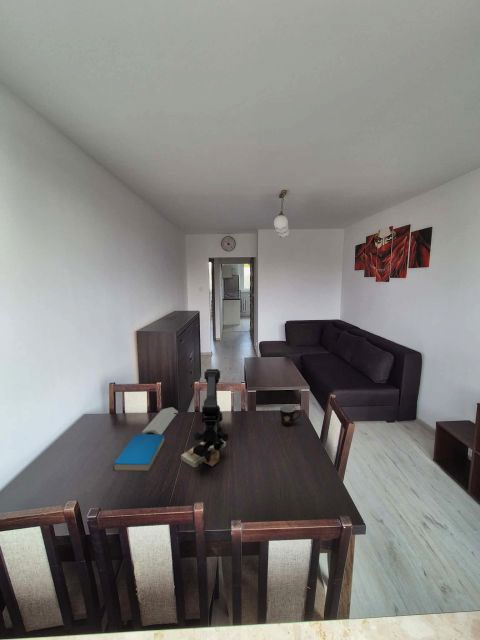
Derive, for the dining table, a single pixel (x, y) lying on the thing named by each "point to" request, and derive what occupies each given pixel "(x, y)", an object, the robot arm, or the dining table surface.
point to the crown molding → (160, 421)
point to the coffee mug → (287, 415)
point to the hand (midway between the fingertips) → (211, 459)
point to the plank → (195, 456)
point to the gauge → (213, 457)
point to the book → (140, 452)
